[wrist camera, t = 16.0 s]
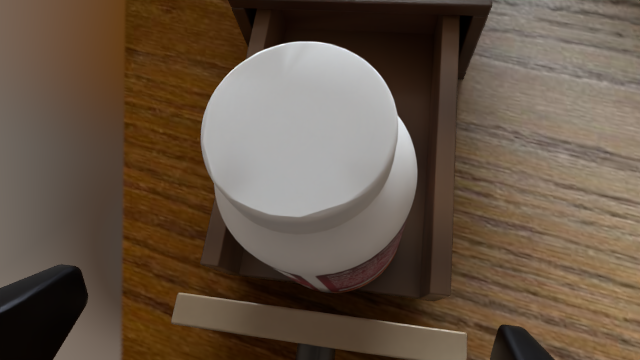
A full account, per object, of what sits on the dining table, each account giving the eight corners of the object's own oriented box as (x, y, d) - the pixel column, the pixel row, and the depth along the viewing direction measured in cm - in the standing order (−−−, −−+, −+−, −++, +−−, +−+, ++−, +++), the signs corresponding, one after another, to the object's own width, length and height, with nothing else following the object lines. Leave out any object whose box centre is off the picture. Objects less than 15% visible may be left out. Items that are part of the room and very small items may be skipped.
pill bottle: (398, 167, 20) (431, 8, 10) (401, 296, 18) (447, 262, 8) (275, 167, 21) (189, 19, 11) (265, 292, 19) (148, 255, 9)
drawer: (444, 388, 18) (466, 406, 14) (202, 350, 20) (162, 356, 16) (456, 35, 24) (474, -22, 20) (269, 28, 25) (252, -26, 22)
